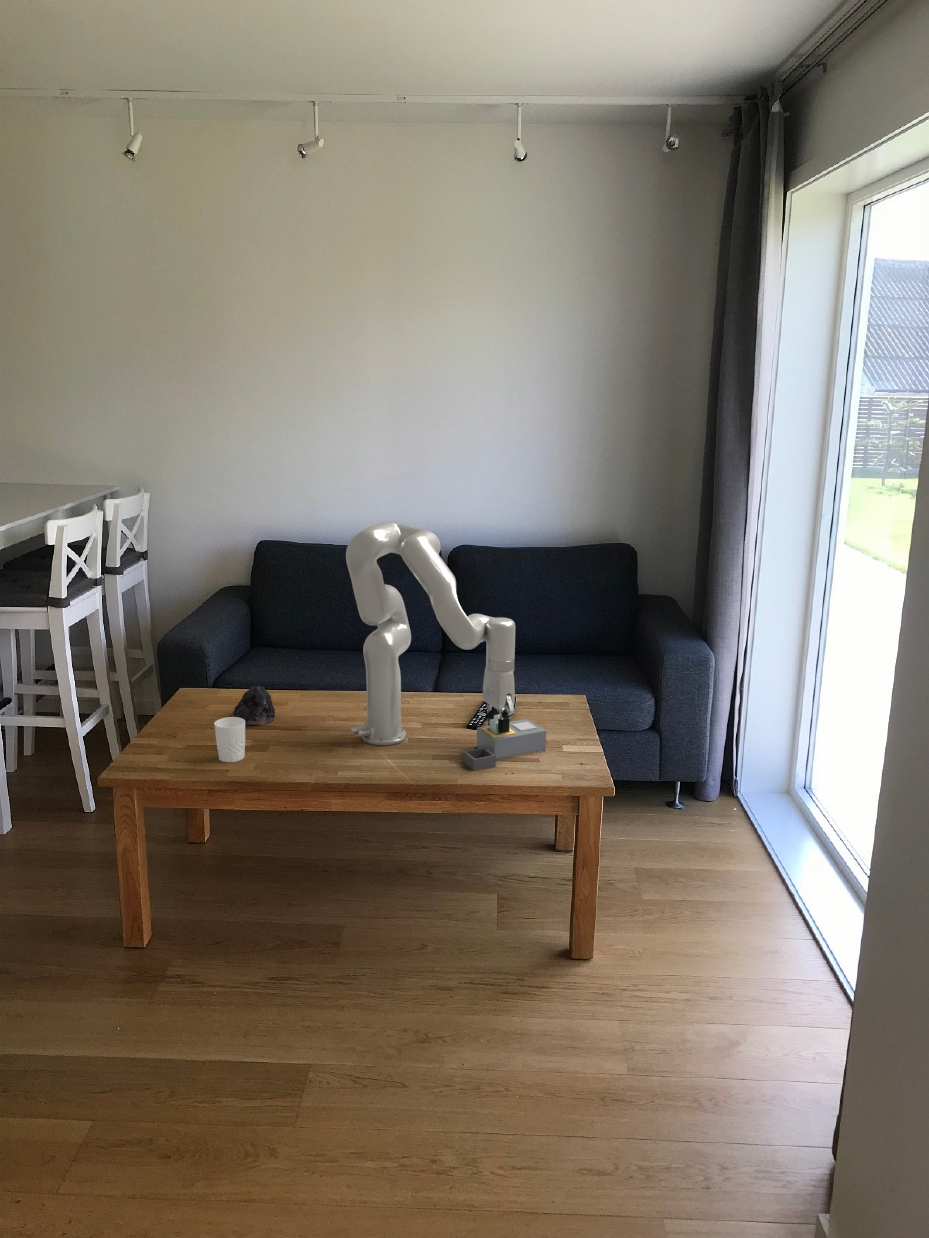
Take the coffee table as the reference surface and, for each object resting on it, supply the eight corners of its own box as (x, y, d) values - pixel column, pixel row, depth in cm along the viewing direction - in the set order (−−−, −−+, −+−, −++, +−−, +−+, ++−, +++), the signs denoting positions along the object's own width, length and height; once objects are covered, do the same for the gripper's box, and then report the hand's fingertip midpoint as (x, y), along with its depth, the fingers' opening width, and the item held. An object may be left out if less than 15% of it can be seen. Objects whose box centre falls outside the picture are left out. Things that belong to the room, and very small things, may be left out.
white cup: (231, 765, 240) (229, 729, 238) (210, 759, 245) (207, 723, 242) (253, 755, 247) (251, 720, 244) (231, 749, 251) (230, 714, 248)
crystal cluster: (249, 733, 265) (251, 700, 263) (220, 717, 273) (223, 686, 271) (285, 723, 275) (288, 692, 273) (257, 709, 283) (259, 678, 281)
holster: (473, 772, 238) (474, 760, 237) (462, 763, 244) (462, 751, 243) (495, 768, 241) (496, 755, 240) (484, 759, 247) (484, 747, 246)
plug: (495, 751, 249) (496, 718, 247) (489, 747, 252) (489, 714, 250) (507, 749, 251) (507, 716, 248) (500, 745, 254) (501, 712, 252)
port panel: (494, 761, 246) (494, 739, 244) (476, 748, 254) (476, 726, 253) (545, 751, 253) (546, 729, 251) (526, 738, 261) (527, 717, 260)
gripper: (472, 657, 251) (471, 720, 256) (503, 675, 236) (501, 741, 241) (497, 654, 254) (495, 716, 259) (528, 671, 240) (526, 737, 244)
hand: (498, 728), depth 250 cm, fingers open, 4 cm apart
